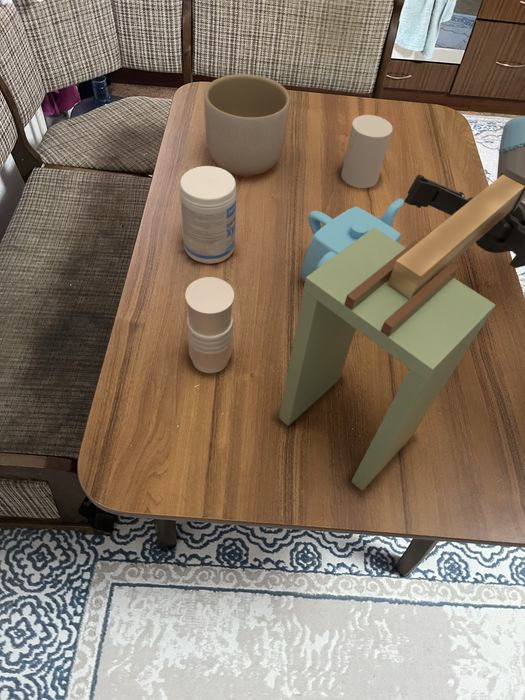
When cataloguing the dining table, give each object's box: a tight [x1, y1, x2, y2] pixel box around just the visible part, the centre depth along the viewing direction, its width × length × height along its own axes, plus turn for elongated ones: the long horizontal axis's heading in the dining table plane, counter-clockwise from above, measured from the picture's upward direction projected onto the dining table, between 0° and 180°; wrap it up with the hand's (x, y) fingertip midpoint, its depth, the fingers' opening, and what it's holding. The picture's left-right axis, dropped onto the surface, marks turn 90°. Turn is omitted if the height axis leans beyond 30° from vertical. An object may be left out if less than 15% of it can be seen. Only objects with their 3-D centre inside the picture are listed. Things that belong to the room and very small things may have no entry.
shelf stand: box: [278, 227, 496, 492], centre depth 67 cm, size 16×12×32 cm
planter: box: [203, 73, 291, 177], centre depth 111 cm, size 17×17×15 cm
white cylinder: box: [340, 114, 393, 189], centre depth 112 cm, size 8×8×12 cm
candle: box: [184, 276, 235, 374], centre depth 79 cm, size 7×7×15 cm
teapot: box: [301, 198, 405, 282], centre depth 93 cm, size 18×16×14 cm
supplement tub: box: [179, 165, 237, 264], centre depth 94 cm, size 10×10×15 cm
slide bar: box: [388, 169, 525, 299], centre depth 59 cm, size 3×23×4 cm, turn 136°
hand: (464, 222), depth 58 cm, fingers open, 13 cm apart
